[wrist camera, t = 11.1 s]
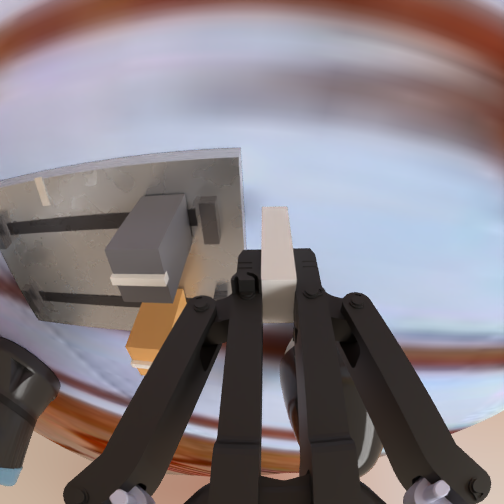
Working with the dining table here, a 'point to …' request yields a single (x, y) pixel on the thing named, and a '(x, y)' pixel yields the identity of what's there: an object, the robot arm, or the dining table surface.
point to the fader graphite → (151, 249)
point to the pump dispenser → (356, 411)
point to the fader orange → (152, 330)
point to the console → (106, 225)
